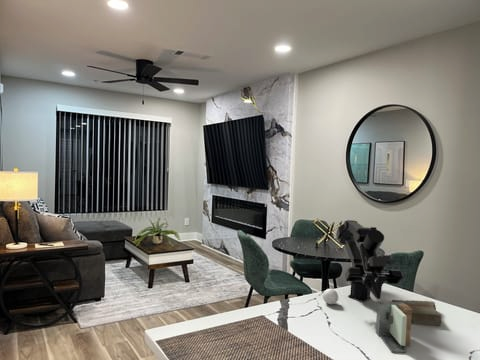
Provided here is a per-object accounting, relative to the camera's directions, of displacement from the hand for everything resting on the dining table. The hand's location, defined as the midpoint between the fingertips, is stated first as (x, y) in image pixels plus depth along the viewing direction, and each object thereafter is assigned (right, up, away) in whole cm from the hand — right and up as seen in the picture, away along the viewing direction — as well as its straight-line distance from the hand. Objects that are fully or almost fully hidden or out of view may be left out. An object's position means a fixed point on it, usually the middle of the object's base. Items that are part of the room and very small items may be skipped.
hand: (378, 298), depth 120 cm
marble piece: (+15, -8, +4) cm, 18 cm away
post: (+1, -8, -15) cm, 17 cm away
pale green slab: (-1, -6, -16) cm, 17 cm away
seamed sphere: (-13, -7, +12) cm, 19 cm away
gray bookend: (-1, -8, -15) cm, 17 cm away
